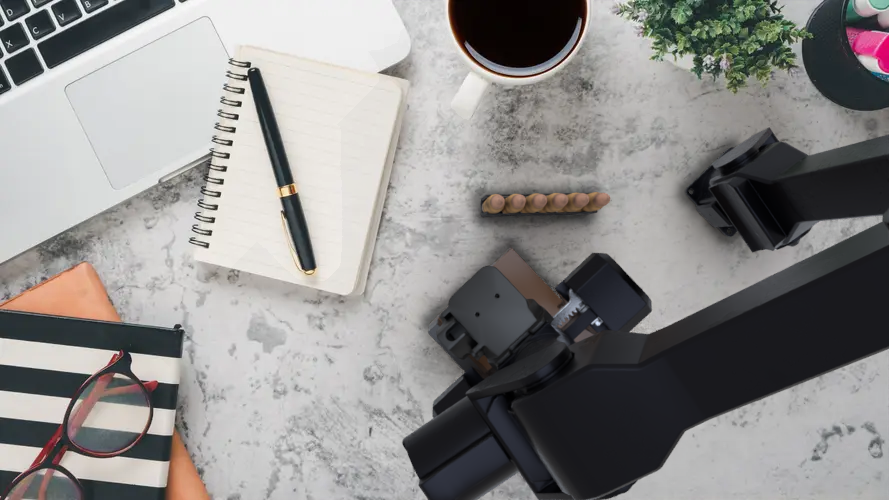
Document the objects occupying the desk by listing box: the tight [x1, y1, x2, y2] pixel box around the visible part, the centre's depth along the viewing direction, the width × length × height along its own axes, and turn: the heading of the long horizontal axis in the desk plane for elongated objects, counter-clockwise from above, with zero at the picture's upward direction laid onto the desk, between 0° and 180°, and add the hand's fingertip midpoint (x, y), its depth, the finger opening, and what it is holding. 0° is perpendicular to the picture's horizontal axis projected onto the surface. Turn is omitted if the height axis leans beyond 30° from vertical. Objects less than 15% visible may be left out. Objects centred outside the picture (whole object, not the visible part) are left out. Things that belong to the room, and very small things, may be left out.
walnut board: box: [427, 247, 594, 373], centre depth 62 cm, size 11×14×6 cm
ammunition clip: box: [480, 191, 612, 218], centre depth 59 cm, size 11×2×12 cm, turn 91°
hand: (529, 339), depth 60 cm, fingers open, 8 cm apart
